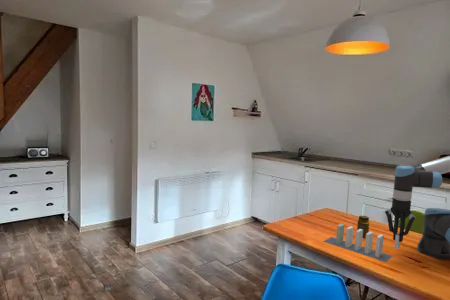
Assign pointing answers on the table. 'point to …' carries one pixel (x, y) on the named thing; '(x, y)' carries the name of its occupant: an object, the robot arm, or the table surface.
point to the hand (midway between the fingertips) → (397, 247)
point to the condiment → (363, 225)
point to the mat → (383, 257)
